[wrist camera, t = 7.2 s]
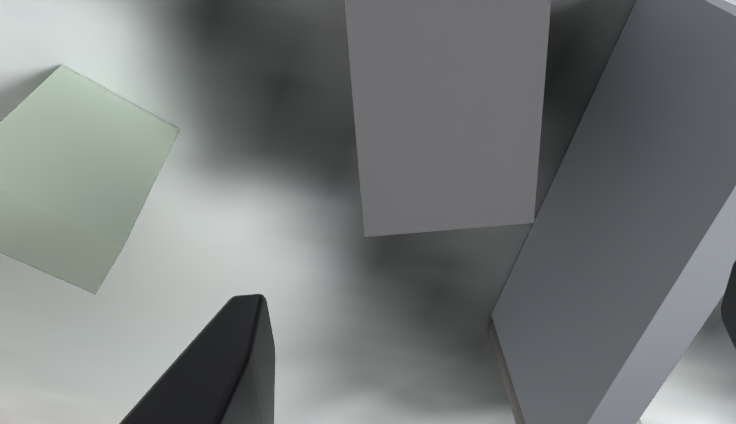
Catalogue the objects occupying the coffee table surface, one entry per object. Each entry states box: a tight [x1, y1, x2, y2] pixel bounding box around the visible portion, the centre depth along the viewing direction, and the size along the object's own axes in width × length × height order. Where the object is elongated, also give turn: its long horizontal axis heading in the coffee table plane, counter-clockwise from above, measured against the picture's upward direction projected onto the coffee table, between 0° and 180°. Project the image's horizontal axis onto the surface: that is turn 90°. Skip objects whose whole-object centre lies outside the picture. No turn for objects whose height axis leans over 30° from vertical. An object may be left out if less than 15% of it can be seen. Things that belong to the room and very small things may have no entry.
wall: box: [0, 65, 642, 424], centre depth 19 cm, size 22×2×6 cm, turn 55°
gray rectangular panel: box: [488, 0, 736, 424], centre depth 17 cm, size 13×1×8 cm, turn 165°
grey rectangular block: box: [344, 0, 551, 237], centre depth 16 cm, size 6×4×5 cm, turn 4°
